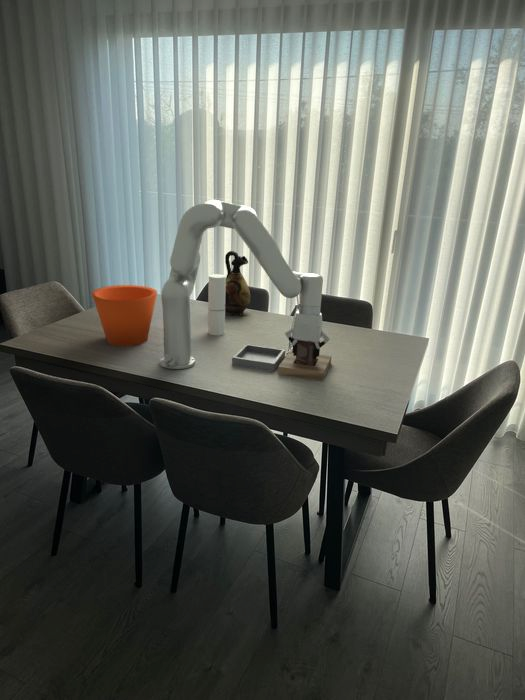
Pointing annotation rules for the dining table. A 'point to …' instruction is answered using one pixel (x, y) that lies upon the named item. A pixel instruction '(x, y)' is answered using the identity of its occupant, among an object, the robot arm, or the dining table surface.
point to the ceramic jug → (236, 286)
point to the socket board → (305, 367)
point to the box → (305, 353)
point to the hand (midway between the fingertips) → (305, 356)
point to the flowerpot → (125, 313)
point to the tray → (258, 357)
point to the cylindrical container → (216, 304)
